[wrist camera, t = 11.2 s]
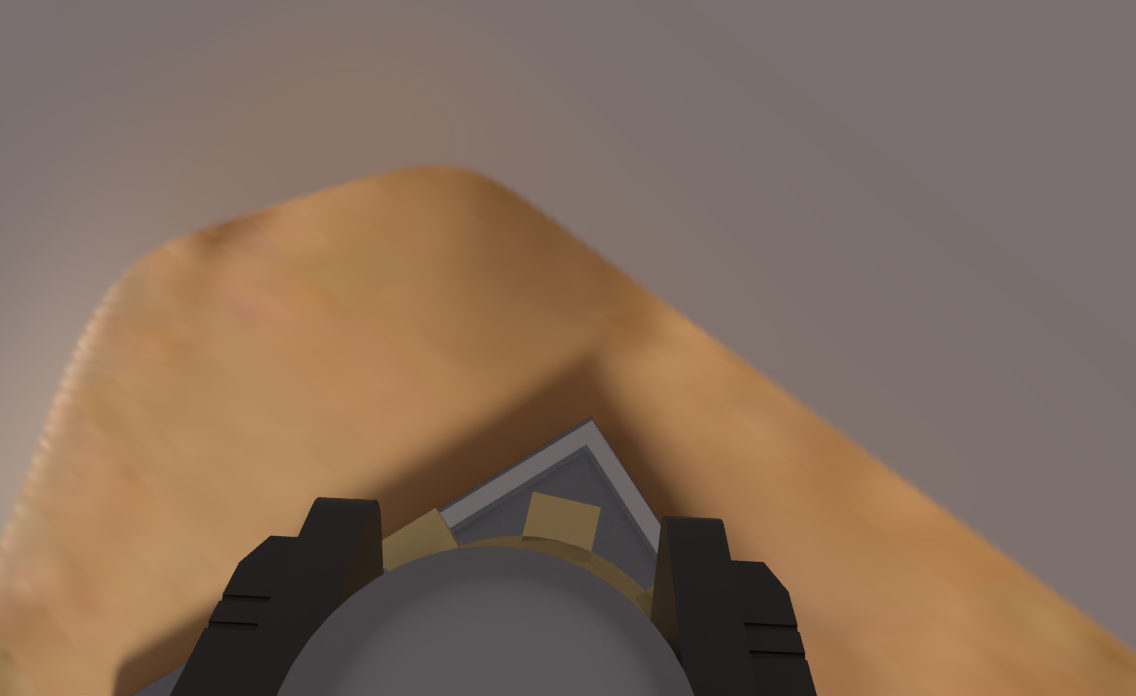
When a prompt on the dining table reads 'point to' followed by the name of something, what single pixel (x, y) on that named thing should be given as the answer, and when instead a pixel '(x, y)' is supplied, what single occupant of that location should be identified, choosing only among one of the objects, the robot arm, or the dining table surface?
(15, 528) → the dining table surface
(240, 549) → the dining table surface
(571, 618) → the gear
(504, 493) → the tray
